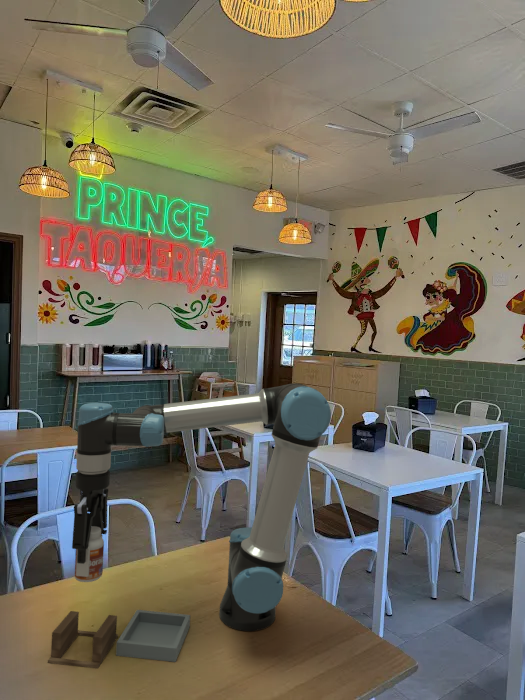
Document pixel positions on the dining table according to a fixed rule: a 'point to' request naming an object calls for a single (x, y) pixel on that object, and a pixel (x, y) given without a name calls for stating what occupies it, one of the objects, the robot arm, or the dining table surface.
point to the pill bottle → (93, 556)
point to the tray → (154, 635)
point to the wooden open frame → (69, 632)
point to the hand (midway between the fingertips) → (89, 568)
